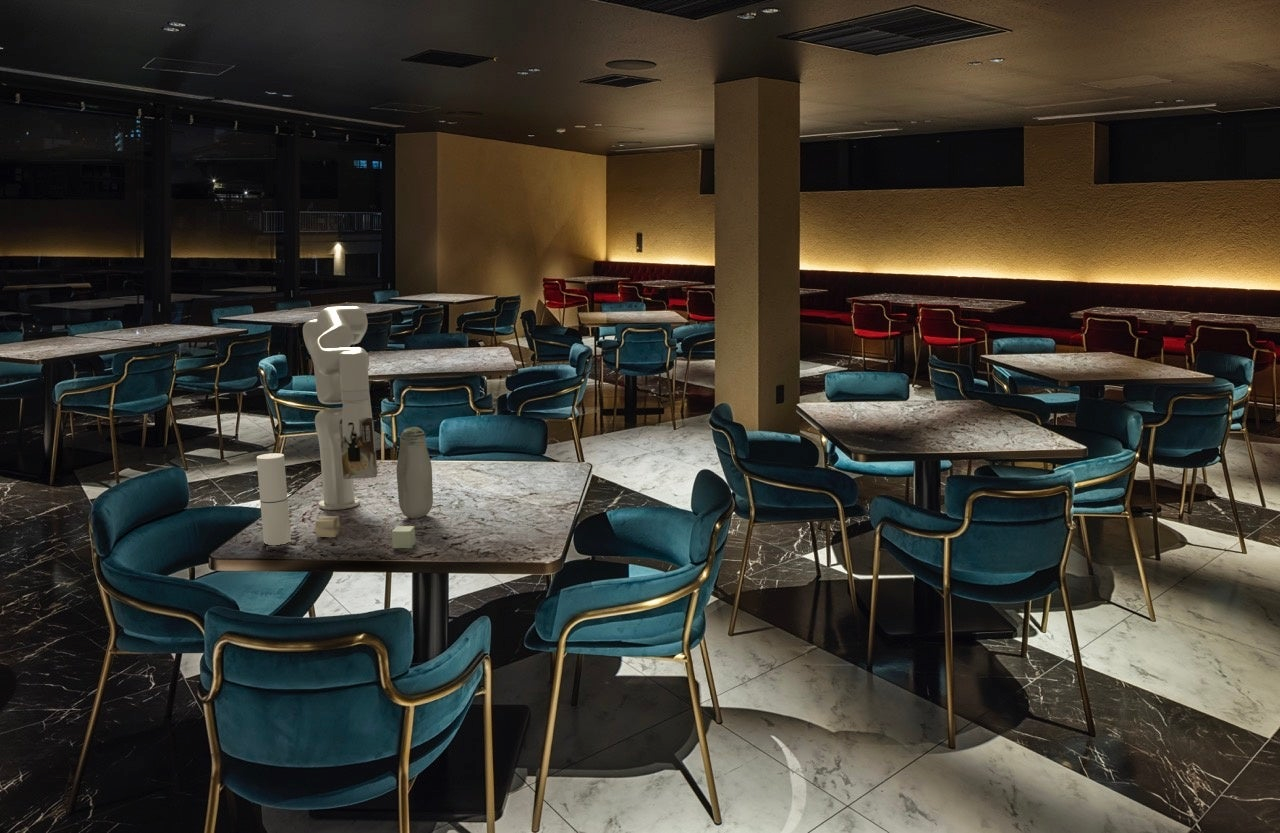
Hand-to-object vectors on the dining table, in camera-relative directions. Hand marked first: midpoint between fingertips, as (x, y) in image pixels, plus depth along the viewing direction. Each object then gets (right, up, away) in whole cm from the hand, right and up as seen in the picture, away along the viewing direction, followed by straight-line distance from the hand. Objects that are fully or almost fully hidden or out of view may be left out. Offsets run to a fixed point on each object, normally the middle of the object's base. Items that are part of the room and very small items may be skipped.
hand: (359, 457), depth 263 cm
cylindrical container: (-24, -24, +2) cm, 34 cm away
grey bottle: (+10, -20, +25) cm, 34 cm away
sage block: (+13, -25, -3) cm, 28 cm away
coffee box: (0, -5, +1) cm, 6 cm away
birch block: (-11, -23, +8) cm, 27 cm away
